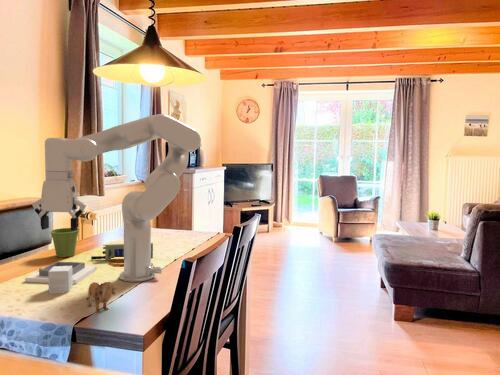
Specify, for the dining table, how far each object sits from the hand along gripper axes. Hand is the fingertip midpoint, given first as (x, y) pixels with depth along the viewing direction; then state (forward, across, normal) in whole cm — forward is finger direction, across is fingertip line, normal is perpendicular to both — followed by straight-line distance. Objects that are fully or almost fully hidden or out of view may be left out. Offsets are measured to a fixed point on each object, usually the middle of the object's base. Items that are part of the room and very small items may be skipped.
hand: (59, 229), depth 124 cm
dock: (+20, +7, -14) cm, 25 cm away
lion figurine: (+20, -19, +13) cm, 31 cm away
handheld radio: (+21, -6, -38) cm, 44 cm away
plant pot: (+20, +20, -40) cm, 49 cm away
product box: (+20, 0, 0) cm, 21 cm away
